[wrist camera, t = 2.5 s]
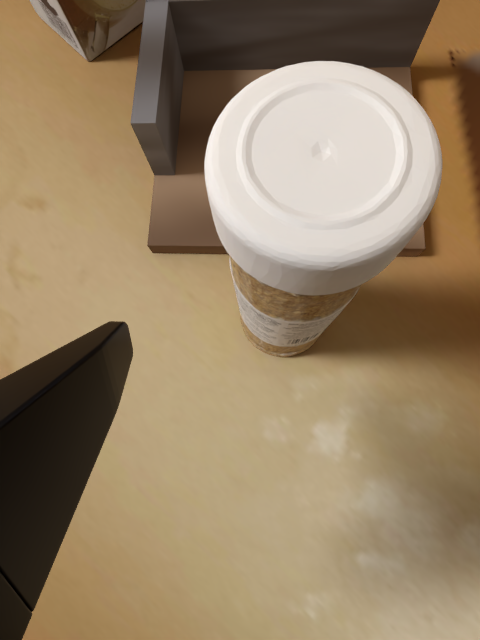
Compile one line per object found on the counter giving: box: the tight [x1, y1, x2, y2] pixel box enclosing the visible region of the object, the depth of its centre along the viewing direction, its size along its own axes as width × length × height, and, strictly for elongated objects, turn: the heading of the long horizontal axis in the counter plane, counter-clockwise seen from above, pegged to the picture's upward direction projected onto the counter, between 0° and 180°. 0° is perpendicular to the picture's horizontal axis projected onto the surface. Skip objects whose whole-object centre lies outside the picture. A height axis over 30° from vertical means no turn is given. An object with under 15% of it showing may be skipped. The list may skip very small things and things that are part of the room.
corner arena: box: [131, 0, 440, 256], centre depth 20 cm, size 13×15×5 cm
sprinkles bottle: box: [204, 61, 442, 357], centre depth 13 cm, size 5×5×14 cm
